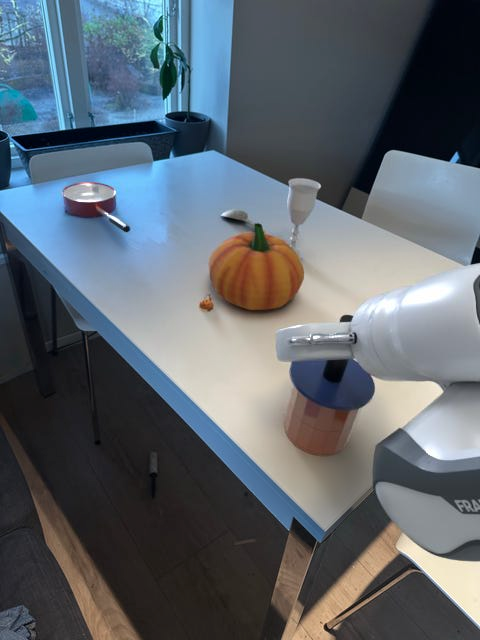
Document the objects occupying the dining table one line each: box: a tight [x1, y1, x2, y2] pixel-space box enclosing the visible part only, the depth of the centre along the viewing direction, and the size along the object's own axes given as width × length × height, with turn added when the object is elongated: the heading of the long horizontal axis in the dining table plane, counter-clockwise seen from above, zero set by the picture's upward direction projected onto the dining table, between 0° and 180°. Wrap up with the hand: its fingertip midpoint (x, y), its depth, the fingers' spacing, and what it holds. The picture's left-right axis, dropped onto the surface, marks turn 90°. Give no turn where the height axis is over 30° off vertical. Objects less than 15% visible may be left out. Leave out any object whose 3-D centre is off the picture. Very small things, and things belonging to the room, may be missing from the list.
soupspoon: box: [220, 208, 270, 235], centre depth 116 cm, size 22×3×7 cm
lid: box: [288, 314, 376, 410], centre depth 57 cm, size 11×11×10 cm
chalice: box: [286, 177, 322, 261], centre depth 102 cm, size 7×7×18 cm
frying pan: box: [61, 181, 131, 233], centre depth 110 cm, size 32×13×6 cm, turn 39°
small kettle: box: [198, 293, 214, 312], centre depth 87 cm, size 3×3×3 cm
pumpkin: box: [208, 222, 305, 311], centre depth 89 cm, size 19×19×15 cm
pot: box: [283, 384, 363, 457], centre depth 63 cm, size 10×10×10 cm
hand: (339, 346), depth 57 cm, fingers open, 8 cm apart
